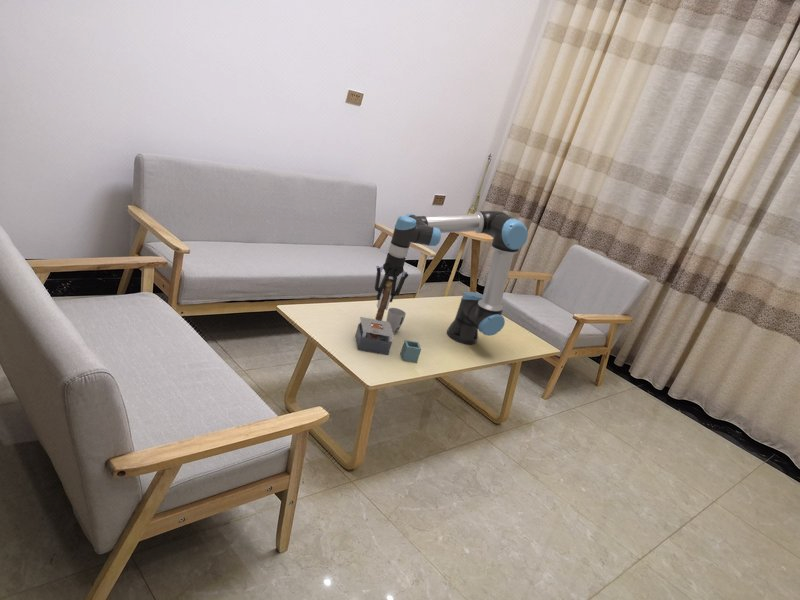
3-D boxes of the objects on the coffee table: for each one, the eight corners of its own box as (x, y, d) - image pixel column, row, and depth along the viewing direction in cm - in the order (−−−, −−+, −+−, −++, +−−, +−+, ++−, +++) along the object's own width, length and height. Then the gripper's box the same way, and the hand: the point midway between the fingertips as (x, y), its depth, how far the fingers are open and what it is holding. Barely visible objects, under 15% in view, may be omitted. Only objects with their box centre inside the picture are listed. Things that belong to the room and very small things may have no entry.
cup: (398, 337, 244) (404, 317, 240) (381, 331, 245) (386, 311, 241) (401, 330, 251) (407, 311, 248) (385, 325, 252) (390, 306, 249)
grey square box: (384, 340, 236) (389, 322, 233) (388, 355, 225) (394, 335, 221) (355, 335, 233) (360, 316, 230) (357, 350, 221) (363, 330, 218)
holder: (414, 355, 231) (418, 342, 228) (416, 362, 225) (421, 349, 223) (400, 353, 229) (404, 339, 227) (402, 360, 224) (407, 346, 221)
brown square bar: (381, 318, 226) (392, 279, 220) (382, 321, 224) (393, 281, 217) (374, 317, 226) (386, 277, 219) (375, 320, 223) (386, 280, 217)
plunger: (378, 333, 229) (380, 325, 228) (379, 337, 226) (381, 329, 225) (369, 332, 228) (372, 323, 227) (370, 336, 225) (373, 327, 224)
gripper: (414, 255, 220) (398, 307, 228) (376, 247, 216) (362, 300, 224) (417, 262, 213) (401, 315, 221) (379, 253, 209) (364, 307, 217)
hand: (381, 307), depth 223 cm, fingers closed on brown square bar, 3 cm apart
